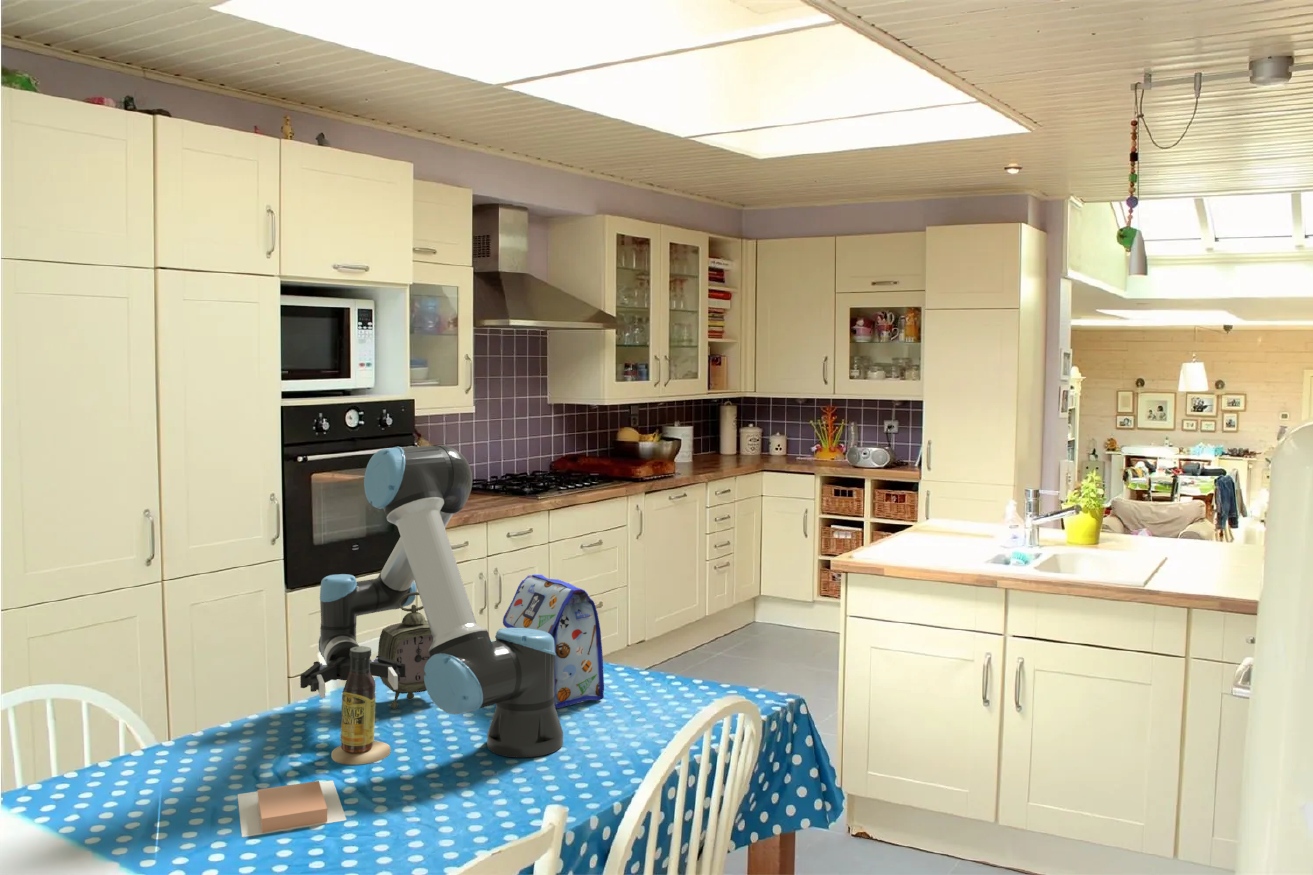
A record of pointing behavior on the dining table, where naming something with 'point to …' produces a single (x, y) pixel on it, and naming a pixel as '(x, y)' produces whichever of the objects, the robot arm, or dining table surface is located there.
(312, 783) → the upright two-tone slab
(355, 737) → the sauce bottle
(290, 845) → the dining table surface
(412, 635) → the tabletop clock
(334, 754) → the cork coaster
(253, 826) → the white mat
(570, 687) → the lunch bag
